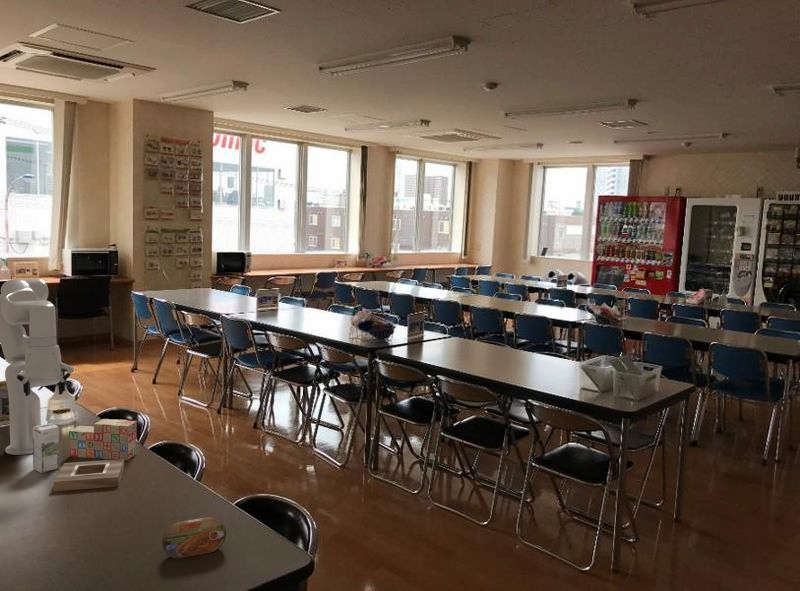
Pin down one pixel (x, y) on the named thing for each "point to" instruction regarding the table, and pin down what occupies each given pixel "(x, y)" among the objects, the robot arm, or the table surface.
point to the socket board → (89, 475)
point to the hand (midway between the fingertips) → (44, 394)
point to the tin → (193, 537)
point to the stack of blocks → (104, 440)
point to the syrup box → (45, 448)
